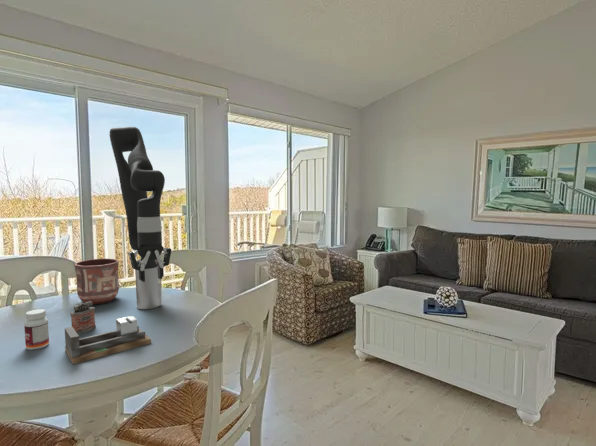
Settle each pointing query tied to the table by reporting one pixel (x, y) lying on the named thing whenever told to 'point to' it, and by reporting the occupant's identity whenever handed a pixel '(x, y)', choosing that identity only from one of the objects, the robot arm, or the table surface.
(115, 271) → the pottery
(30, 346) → the pill bottle
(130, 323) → the gauge slider
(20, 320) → the table surface
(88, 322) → the lighter
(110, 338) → the gauge track
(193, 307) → the table surface
